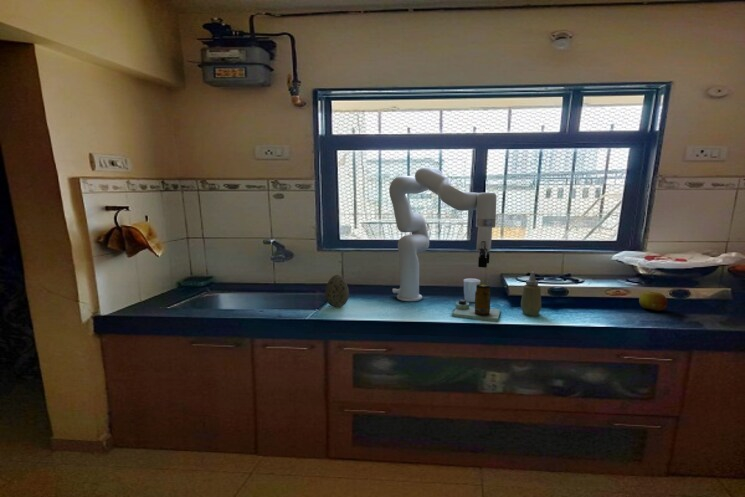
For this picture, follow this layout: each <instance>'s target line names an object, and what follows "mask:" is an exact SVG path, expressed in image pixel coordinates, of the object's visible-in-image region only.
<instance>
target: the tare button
mask: <svg viewBox="0 0 745 497" xmlns="http://www.w3.org/2000/svg"><path fill="white" fill-rule="evenodd" d="M458 302H459V304H460V305H466V302H467V301H466V300H464V299H459V300H458Z"/></svg>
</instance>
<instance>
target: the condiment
mask: <svg viewBox="0 0 745 497" xmlns="http://www.w3.org/2000/svg"><path fill="white" fill-rule="evenodd" d="M490 290H491V286H490V284H486V283H480V284H477V287H476V292H475V302H474V307H475V311H471V313H474V314H477V315H479V316H483V317H490V316H495V315H497V314H494V313H491V312H490V308H491V291H490Z"/></svg>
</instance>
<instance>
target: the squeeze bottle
mask: <svg viewBox="0 0 745 497" xmlns="http://www.w3.org/2000/svg"><path fill="white" fill-rule="evenodd" d="M541 290H542V289H541V286H540V285H539V280H537V279H536V275H535V272H534V271H530V275H529V277H528V279H526V280H525V284H524V285H523V288H522V292H521V293H522V294H521V300H520V307H521V311H522V314H523V315H526V316H534V317H535V316H538V315H539V314H540V311H541V309H542V307H543V306H542V291H541Z"/></svg>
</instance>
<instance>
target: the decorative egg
mask: <svg viewBox="0 0 745 497" xmlns="http://www.w3.org/2000/svg"><path fill="white" fill-rule="evenodd" d="M324 295H325V301H326V302H327V303H328V305H330V306H331V307H333V308H336V309H338V308H342V307H343V306H345V305H346V304H347V302H348V300H349V298H350V290H349V286H348V284H347V282H346V280H345V279H344V278H343V277H342V276H341V275H339V274H335V275H332V277H330V279H329V280H328V282H327V283H326V286H325V291H324Z"/></svg>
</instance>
